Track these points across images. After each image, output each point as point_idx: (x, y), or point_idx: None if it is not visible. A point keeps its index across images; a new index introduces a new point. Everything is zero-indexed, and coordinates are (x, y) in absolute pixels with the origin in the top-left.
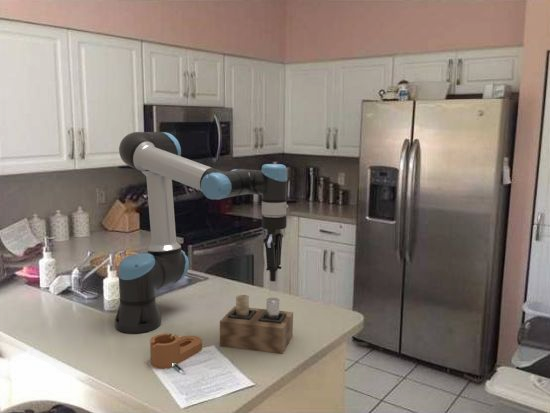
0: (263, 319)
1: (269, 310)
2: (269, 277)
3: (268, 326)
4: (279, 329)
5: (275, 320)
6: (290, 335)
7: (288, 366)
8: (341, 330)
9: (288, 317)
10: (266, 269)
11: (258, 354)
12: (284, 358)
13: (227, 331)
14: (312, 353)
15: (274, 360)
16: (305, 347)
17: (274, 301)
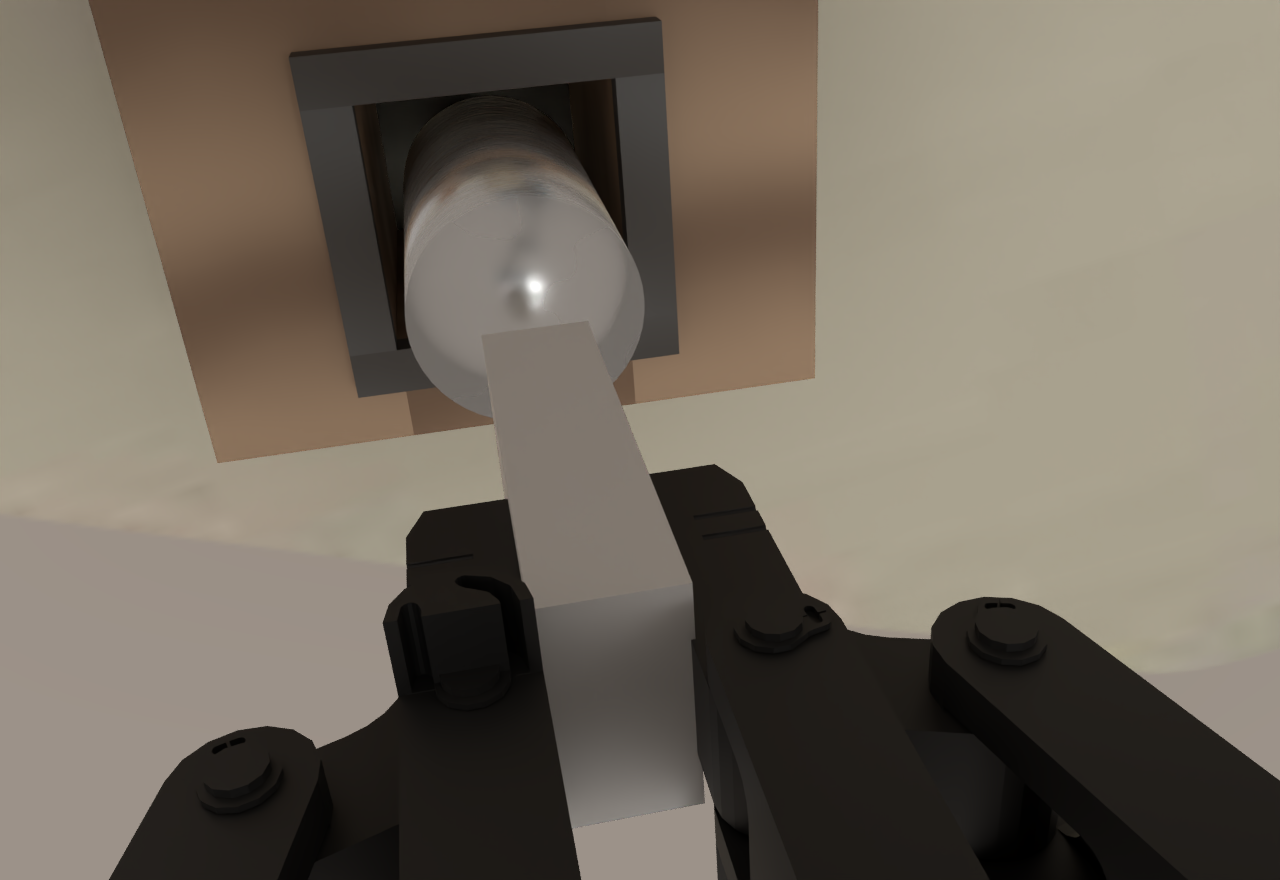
0: (320, 137)
1: (406, 242)
2: (508, 492)
3: (178, 271)
4: (207, 414)
5: (371, 312)
6: None
7: (27, 472)
8: None
9: None
10: (392, 612)
11: (101, 94)
12: (168, 381)
13: None
14: (405, 561)
15: (67, 310)
16: None
17: (456, 370)
